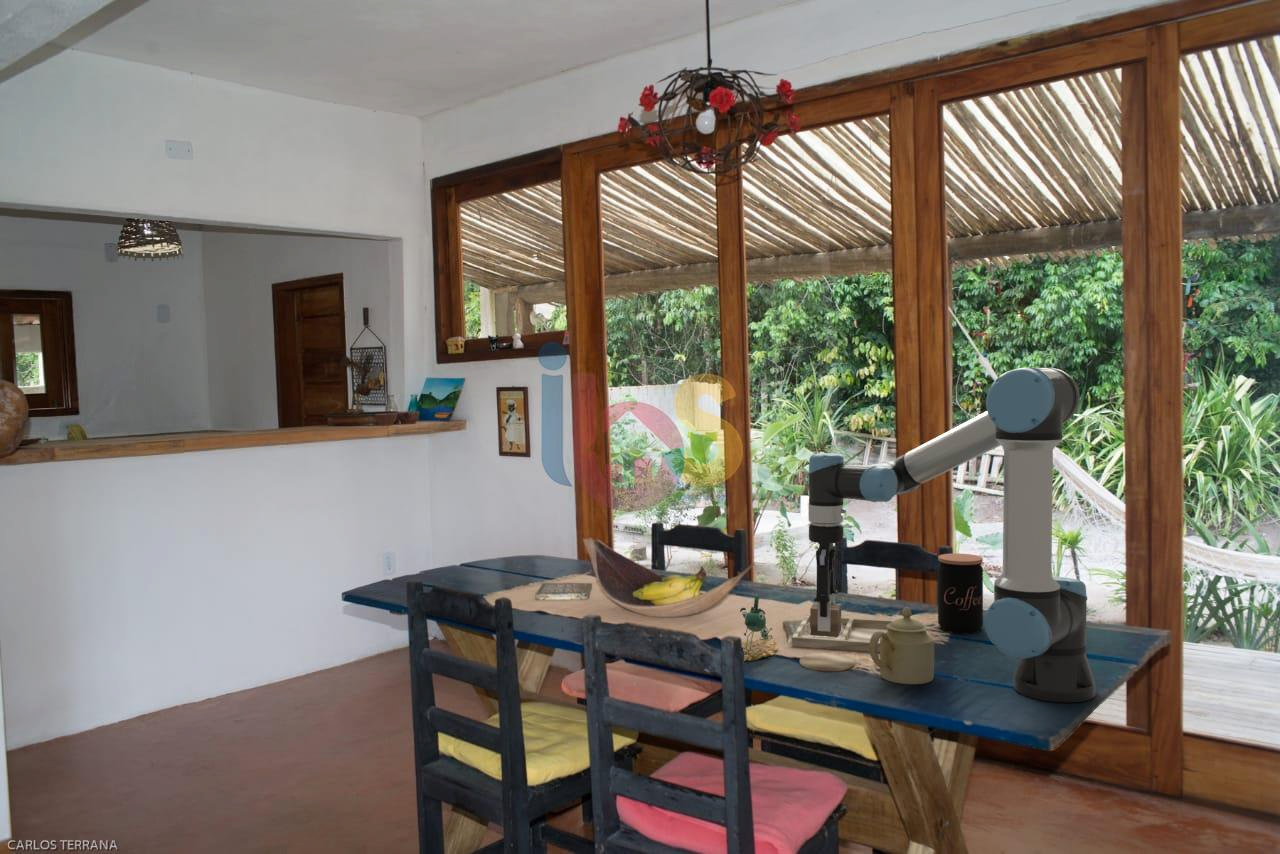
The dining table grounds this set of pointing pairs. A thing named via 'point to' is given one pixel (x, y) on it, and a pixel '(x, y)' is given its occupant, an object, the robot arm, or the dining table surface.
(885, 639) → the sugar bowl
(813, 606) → the letter cube
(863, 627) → the tray
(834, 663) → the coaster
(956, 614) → the coffee jar
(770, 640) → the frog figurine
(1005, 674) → the dining table surface
